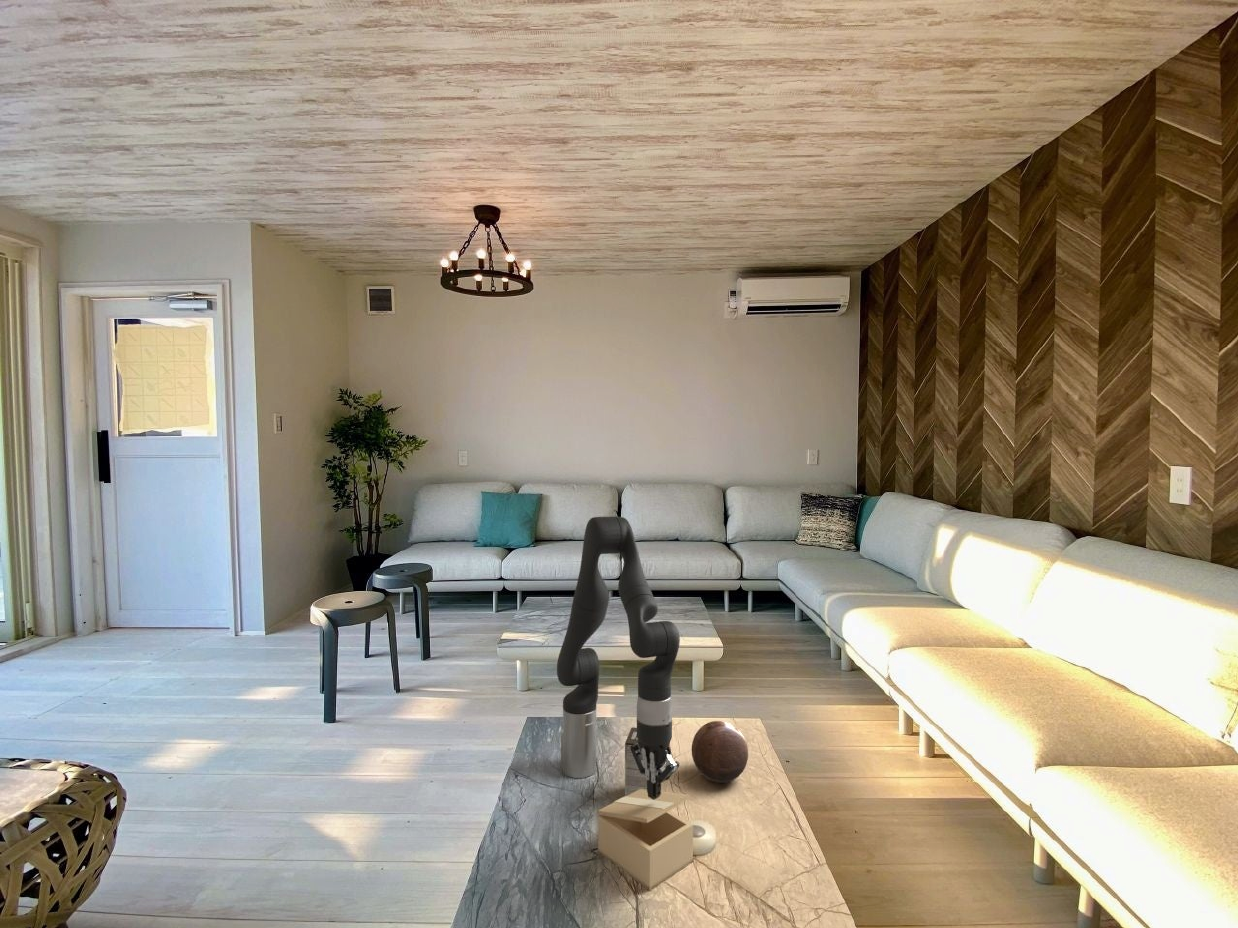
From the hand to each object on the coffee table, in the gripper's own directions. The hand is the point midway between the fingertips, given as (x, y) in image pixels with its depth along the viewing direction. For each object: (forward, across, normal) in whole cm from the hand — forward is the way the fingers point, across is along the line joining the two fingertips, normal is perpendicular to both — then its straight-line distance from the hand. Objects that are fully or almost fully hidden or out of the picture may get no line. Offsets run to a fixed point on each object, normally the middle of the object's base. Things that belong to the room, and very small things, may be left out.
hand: (654, 797), depth 129 cm
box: (+14, -3, 0) cm, 14 cm away
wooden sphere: (+14, -12, +38) cm, 42 cm away
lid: (+3, -3, 0) cm, 5 cm away
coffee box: (+14, -20, +15) cm, 29 cm away
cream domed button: (+14, +1, +12) cm, 19 cm away
